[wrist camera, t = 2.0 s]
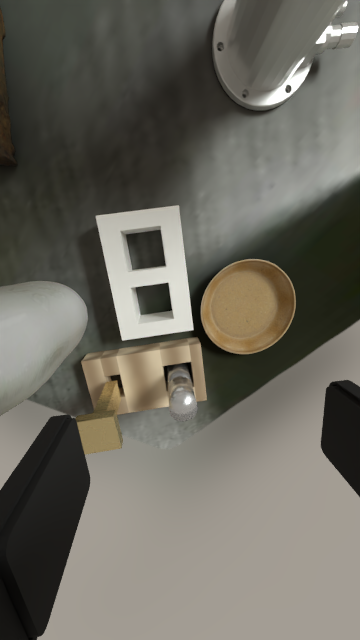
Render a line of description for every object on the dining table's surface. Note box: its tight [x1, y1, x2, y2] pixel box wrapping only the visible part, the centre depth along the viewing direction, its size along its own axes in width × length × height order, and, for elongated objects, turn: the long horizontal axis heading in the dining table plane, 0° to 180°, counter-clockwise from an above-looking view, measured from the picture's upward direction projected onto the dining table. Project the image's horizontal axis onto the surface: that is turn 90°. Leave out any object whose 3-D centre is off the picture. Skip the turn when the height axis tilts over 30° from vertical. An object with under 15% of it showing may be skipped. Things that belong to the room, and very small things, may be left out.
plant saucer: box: [201, 259, 296, 354], centre depth 36 cm, size 15×15×3 cm
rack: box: [96, 205, 194, 341], centre depth 32 cm, size 10×16×5 cm, turn 7°
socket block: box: [81, 337, 207, 415], centre depth 38 cm, size 18×10×3 cm, turn 97°
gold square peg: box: [76, 380, 123, 454], centre depth 31 cm, size 4×4×9 cm
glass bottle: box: [0, 281, 88, 416], centre depth 22 cm, size 10×10×28 cm
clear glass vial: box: [167, 363, 198, 421], centre depth 34 cm, size 4×4×11 cm
